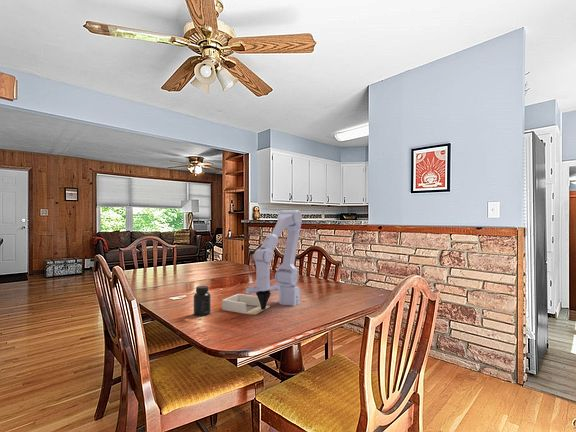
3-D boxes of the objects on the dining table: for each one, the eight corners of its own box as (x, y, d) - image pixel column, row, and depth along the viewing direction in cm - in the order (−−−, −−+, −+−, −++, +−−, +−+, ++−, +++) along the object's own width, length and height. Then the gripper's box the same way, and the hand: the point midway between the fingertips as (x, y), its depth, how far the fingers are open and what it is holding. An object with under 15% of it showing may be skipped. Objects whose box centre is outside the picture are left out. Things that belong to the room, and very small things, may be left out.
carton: (260, 307, 140) (260, 296, 140) (245, 315, 129) (245, 303, 129) (238, 304, 145) (238, 293, 145) (222, 311, 135) (222, 299, 135)
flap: (261, 307, 139) (269, 307, 138) (247, 314, 129) (255, 314, 127) (261, 305, 140) (269, 305, 138) (246, 313, 129) (255, 312, 127)
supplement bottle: (190, 315, 129) (190, 286, 129) (205, 312, 134) (205, 284, 134) (198, 319, 124) (198, 289, 124) (213, 315, 129) (213, 286, 129)
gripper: (275, 273, 139) (275, 304, 139) (243, 276, 133) (244, 308, 133) (281, 276, 132) (281, 308, 132) (248, 279, 127) (248, 313, 127)
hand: (263, 308), depth 132 cm, fingers closed
